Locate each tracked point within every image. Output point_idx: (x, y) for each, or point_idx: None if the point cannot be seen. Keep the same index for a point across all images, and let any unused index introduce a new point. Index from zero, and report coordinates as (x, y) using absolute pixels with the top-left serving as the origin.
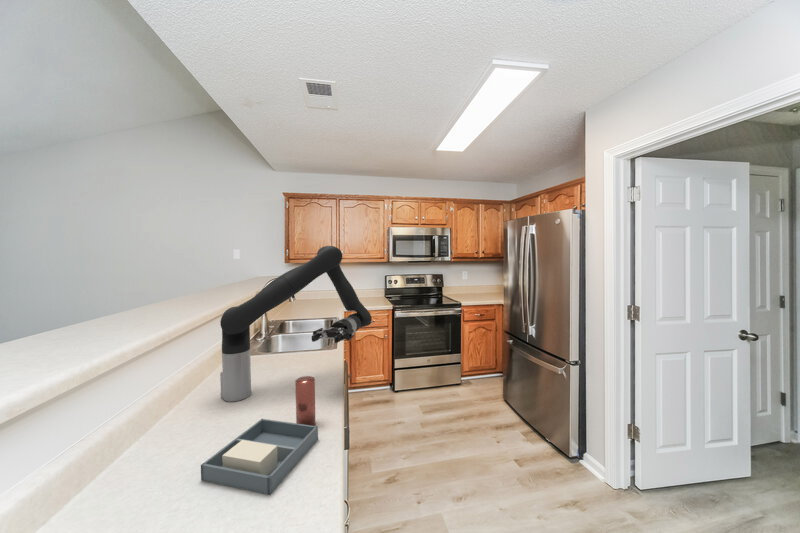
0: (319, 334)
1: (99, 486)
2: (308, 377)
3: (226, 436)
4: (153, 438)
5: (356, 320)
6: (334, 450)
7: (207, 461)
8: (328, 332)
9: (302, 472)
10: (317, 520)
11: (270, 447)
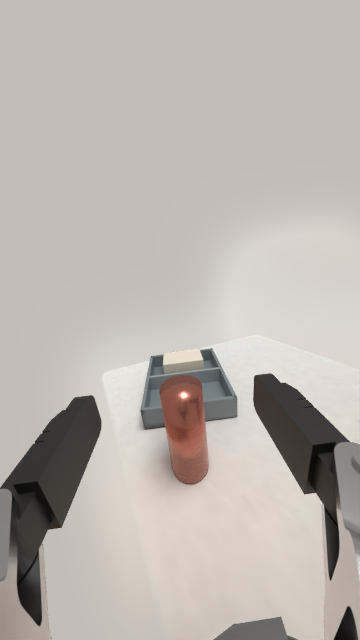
0: (331, 481)
1: (275, 345)
2: (181, 398)
3: None
4: (343, 372)
5: None
6: (117, 425)
7: (211, 350)
8: (275, 618)
9: (142, 391)
10: (114, 371)
11: (167, 362)
